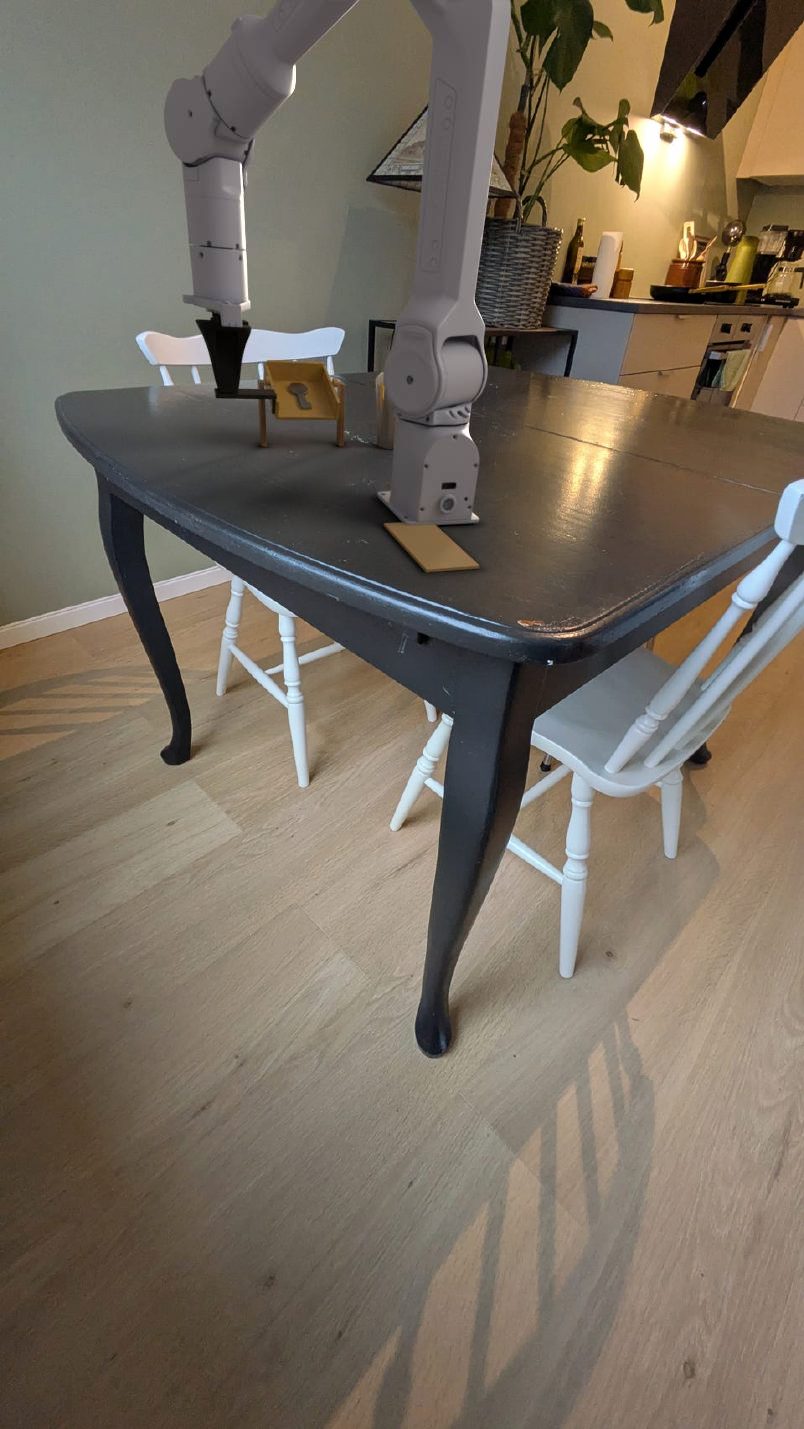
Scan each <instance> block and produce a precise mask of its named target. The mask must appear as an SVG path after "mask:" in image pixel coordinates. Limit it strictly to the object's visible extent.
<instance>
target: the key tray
mask: <svg viewBox="0 0 804 1429" xmlns="http://www.w3.org/2000/svg"><path fill="white" fill-rule="evenodd" d="M262 374H263V376H262V380H263V381H264V384H265V389H258V388H239V389H238V393H220V392H219V390H218V388H217V387H214V388H213V390H214V397H215V399H218V400H219V399H222V400H223V399H224V400H225V399H226V400H258V399H265V400H269V403H270V407H271V414H272V415H273V416H274V419H275V421H276V420H277V421H283V420H285V421H293V420H294V421H337V420H338V417H339V410H340V400H339V398H338V395H337V389H335V388H337V387H338V382H339V378H337V377H333V378H331V376H330V373H329V370H328V367H327V365H326V364H324V362H323V361H304V360H302V361H301V360H280V359H278V360H277V359H267V360H266V362H263V373H262ZM294 382H298V383H302V384H304V385H306V386H307V388H308V393H307V394H306V395H305V398H306V401H307V402H311V405H312V409H308V410H302V409H301V407H300V404H299V401H298V398H297V396H296V395H293V394H292V393H290V391H289V385H290V384H291V383H294Z"/></svg>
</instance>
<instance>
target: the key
mask: <svg viewBox="0 0 804 1429" xmlns="http://www.w3.org/2000/svg"><path fill="white" fill-rule="evenodd" d="M289 391H290V393H292V394H293V395H296V396H297V398H298V401H299V404H300V407H301V409H302V410H308V409H312V405H311V402H307V401H306V398H305V395H306V394H307V393H308V388H307V386H306V385H304V384H302V383H298V382H294V383H291V384H290V385H289Z"/></svg>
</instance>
